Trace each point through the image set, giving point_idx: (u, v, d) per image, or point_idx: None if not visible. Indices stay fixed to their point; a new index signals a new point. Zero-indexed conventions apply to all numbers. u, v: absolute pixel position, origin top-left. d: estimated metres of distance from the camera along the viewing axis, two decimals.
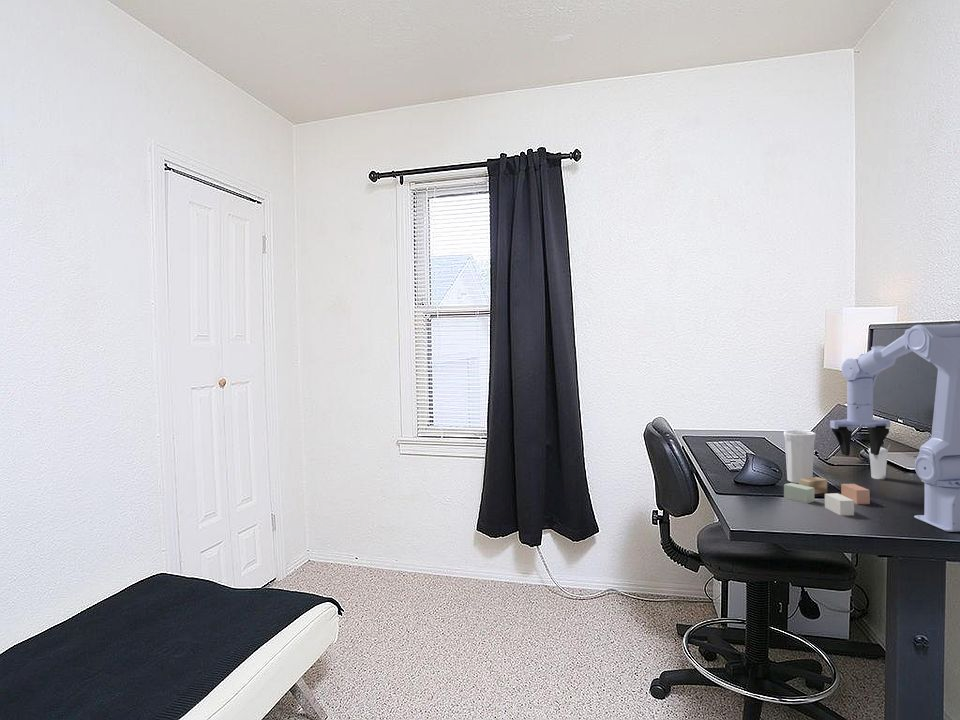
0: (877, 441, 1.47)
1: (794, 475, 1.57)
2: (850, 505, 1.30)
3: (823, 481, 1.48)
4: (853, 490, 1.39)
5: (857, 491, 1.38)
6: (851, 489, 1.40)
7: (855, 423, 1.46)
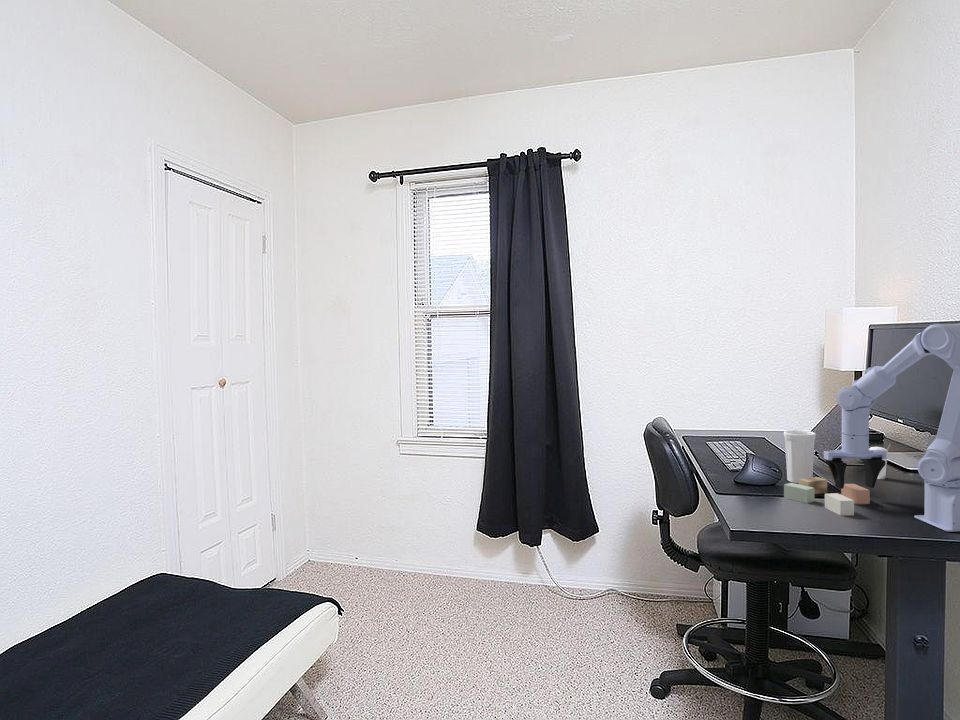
0: (873, 473, 1.40)
1: (794, 475, 1.57)
2: (850, 505, 1.30)
3: (823, 481, 1.48)
4: (853, 490, 1.39)
5: (857, 491, 1.38)
6: (851, 489, 1.40)
7: (850, 455, 1.39)
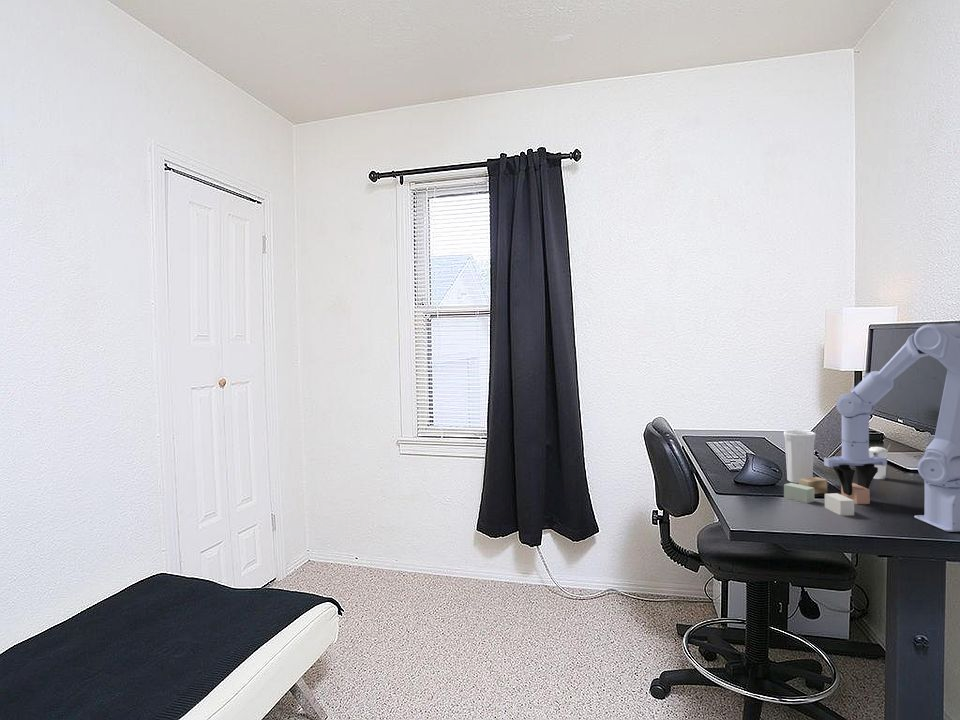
0: (865, 480, 1.40)
1: (794, 475, 1.57)
2: (850, 505, 1.30)
3: (823, 481, 1.48)
4: (853, 490, 1.39)
5: (857, 490, 1.38)
6: None
7: (850, 462, 1.39)
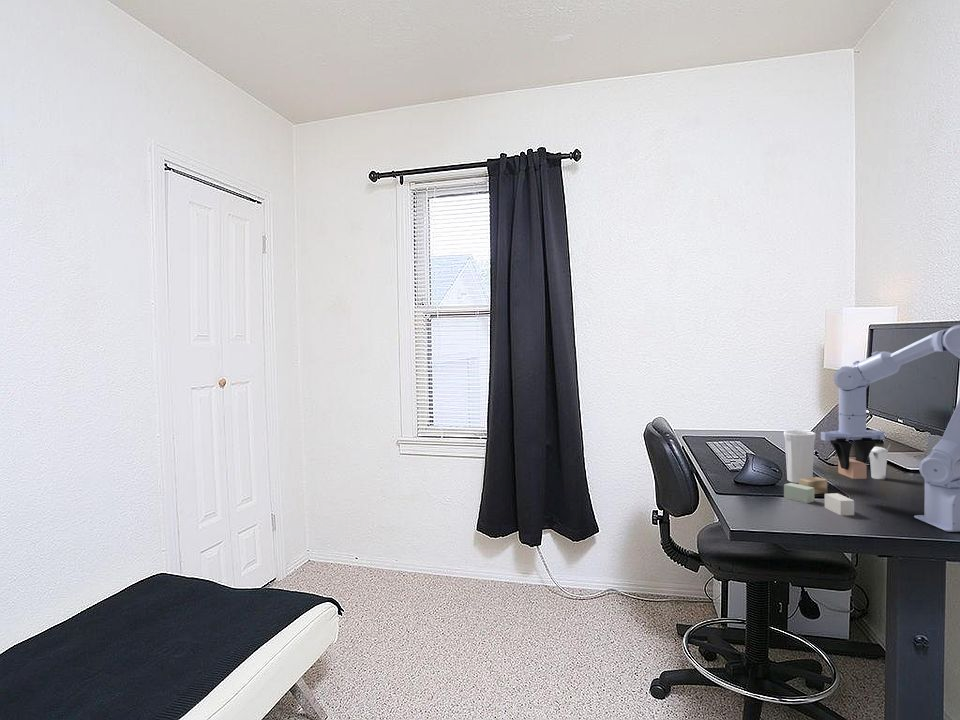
0: (863, 454, 1.38)
1: (794, 475, 1.57)
2: (850, 505, 1.30)
3: (823, 481, 1.48)
4: (850, 465, 1.38)
5: (854, 465, 1.37)
6: None
7: (847, 435, 1.37)
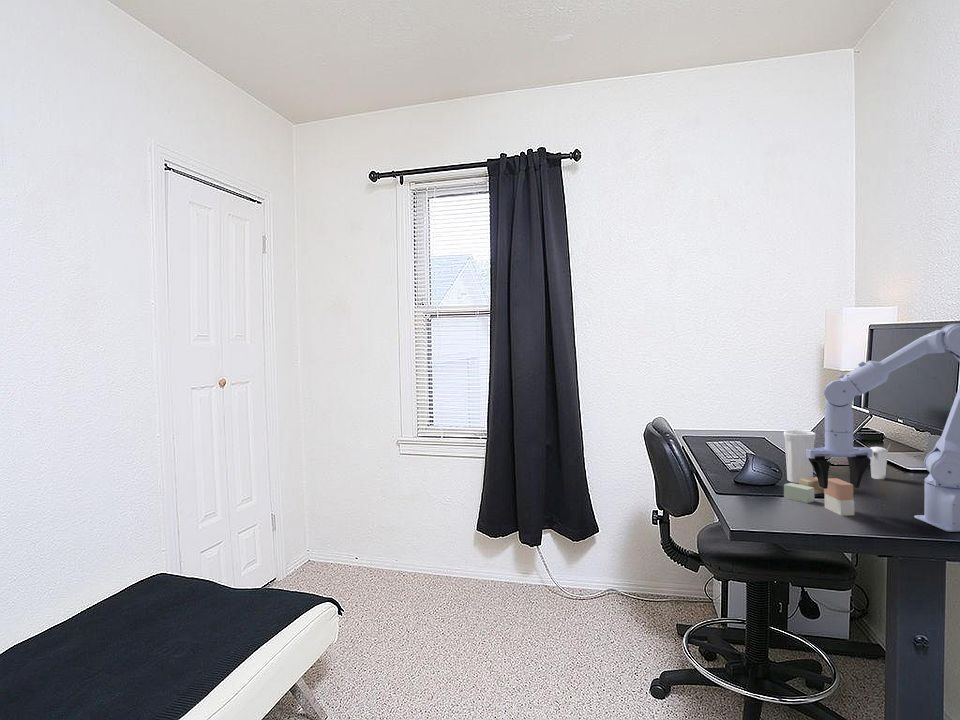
0: (857, 472, 1.32)
1: (794, 475, 1.57)
2: (850, 505, 1.30)
3: None
4: (836, 485, 1.31)
5: (840, 486, 1.30)
6: (834, 484, 1.32)
7: (833, 453, 1.31)
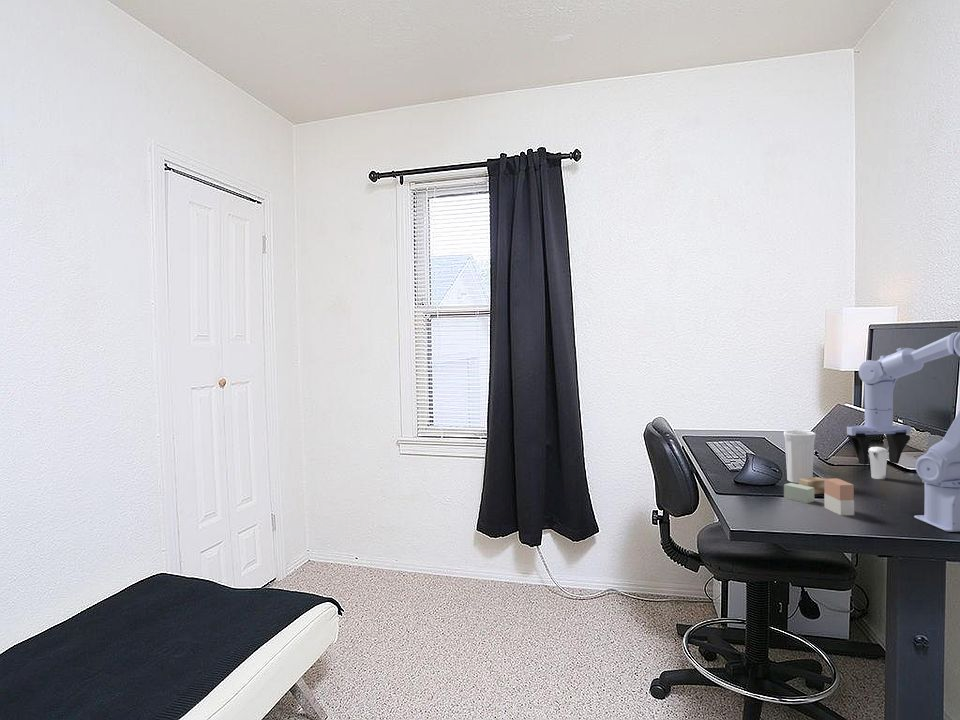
0: (897, 449, 1.37)
1: (794, 475, 1.57)
2: (850, 505, 1.30)
3: (823, 481, 1.48)
4: (836, 485, 1.31)
5: (840, 486, 1.30)
6: (834, 484, 1.32)
7: (874, 430, 1.36)
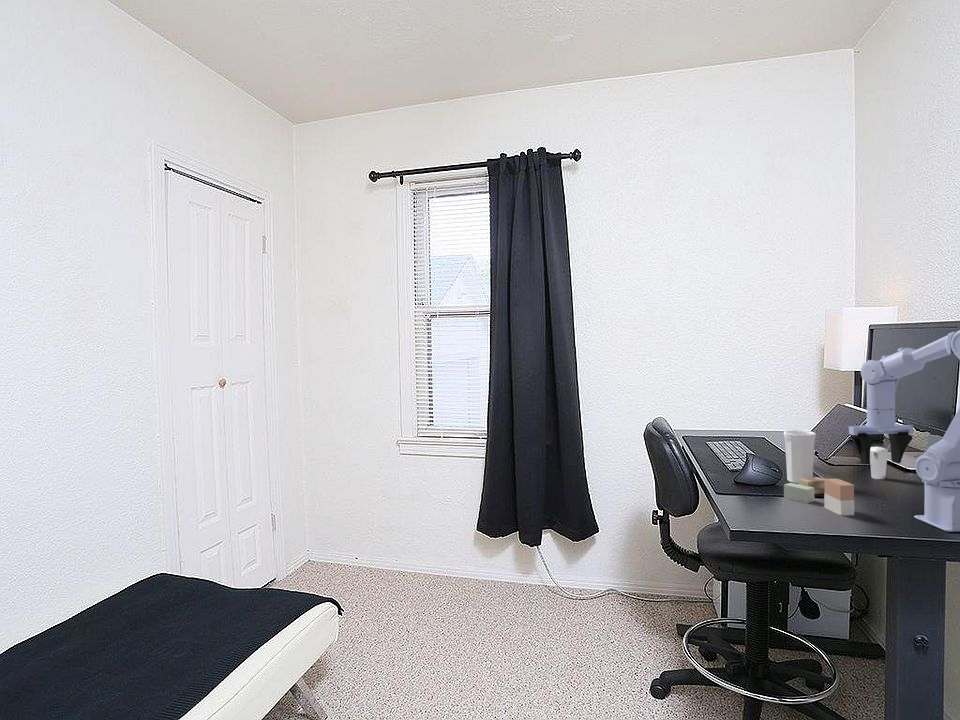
0: (899, 448, 1.37)
1: (794, 475, 1.57)
2: (850, 505, 1.30)
3: (823, 481, 1.48)
4: (837, 486, 1.31)
5: (841, 486, 1.30)
6: (834, 484, 1.32)
7: (876, 429, 1.36)
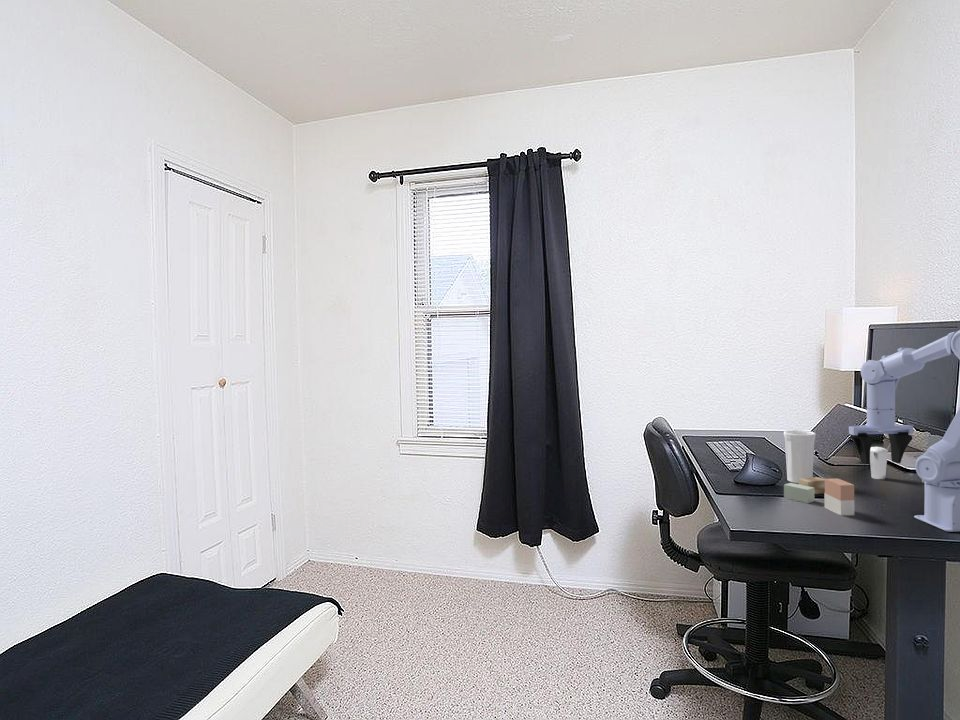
0: (899, 448, 1.37)
1: (794, 475, 1.57)
2: (850, 505, 1.30)
3: (823, 481, 1.48)
4: (837, 485, 1.31)
5: (841, 486, 1.30)
6: (835, 484, 1.32)
7: (876, 429, 1.36)
